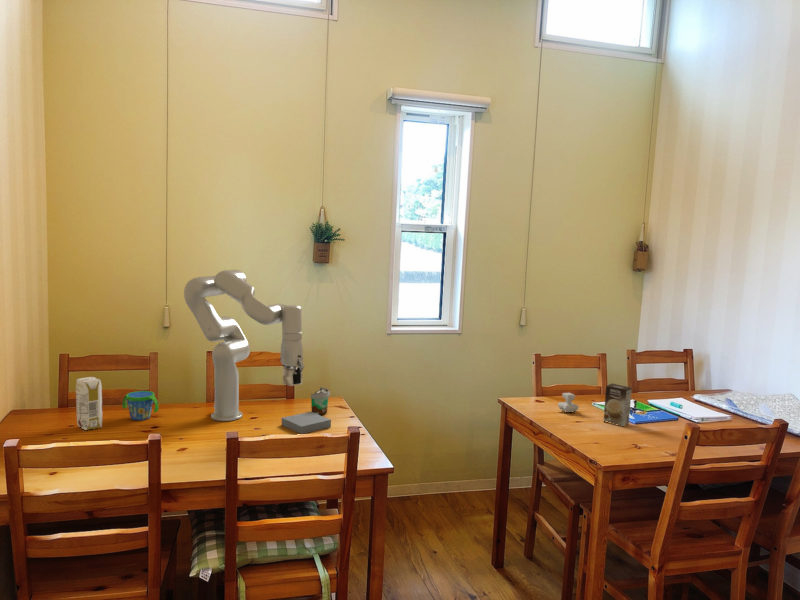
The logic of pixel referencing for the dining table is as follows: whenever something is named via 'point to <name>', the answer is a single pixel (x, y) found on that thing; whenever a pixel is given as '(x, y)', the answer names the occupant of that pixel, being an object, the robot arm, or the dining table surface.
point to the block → (289, 376)
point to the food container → (320, 401)
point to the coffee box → (617, 404)
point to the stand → (306, 422)
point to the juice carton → (89, 403)
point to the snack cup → (140, 404)
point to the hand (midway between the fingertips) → (292, 381)
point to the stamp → (568, 403)
